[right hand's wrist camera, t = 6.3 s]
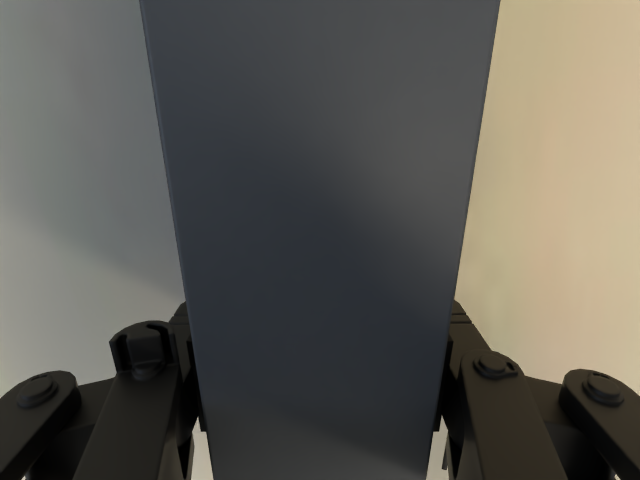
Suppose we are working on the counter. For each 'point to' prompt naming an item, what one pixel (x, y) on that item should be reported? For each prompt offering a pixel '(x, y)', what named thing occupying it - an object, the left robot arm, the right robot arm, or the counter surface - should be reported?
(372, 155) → the beam
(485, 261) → the counter surface
